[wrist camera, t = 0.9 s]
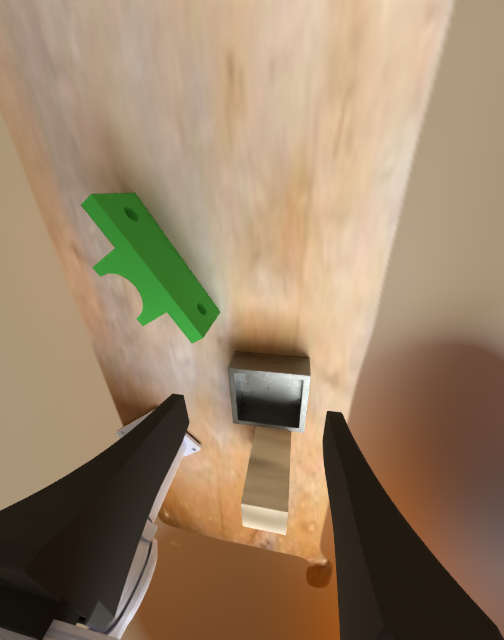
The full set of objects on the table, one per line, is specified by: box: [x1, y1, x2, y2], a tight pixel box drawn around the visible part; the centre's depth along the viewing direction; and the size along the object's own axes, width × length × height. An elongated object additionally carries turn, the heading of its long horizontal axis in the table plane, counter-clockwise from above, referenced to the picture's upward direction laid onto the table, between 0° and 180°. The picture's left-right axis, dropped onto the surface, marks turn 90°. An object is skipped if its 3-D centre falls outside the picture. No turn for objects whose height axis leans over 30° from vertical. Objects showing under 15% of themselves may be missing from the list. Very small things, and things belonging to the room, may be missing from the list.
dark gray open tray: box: [228, 352, 310, 433], centre depth 23 cm, size 7×7×2 cm
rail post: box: [241, 426, 291, 535], centre depth 25 cm, size 4×4×8 cm
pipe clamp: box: [81, 193, 220, 343], centre depth 19 cm, size 11×4×5 cm, turn 32°
